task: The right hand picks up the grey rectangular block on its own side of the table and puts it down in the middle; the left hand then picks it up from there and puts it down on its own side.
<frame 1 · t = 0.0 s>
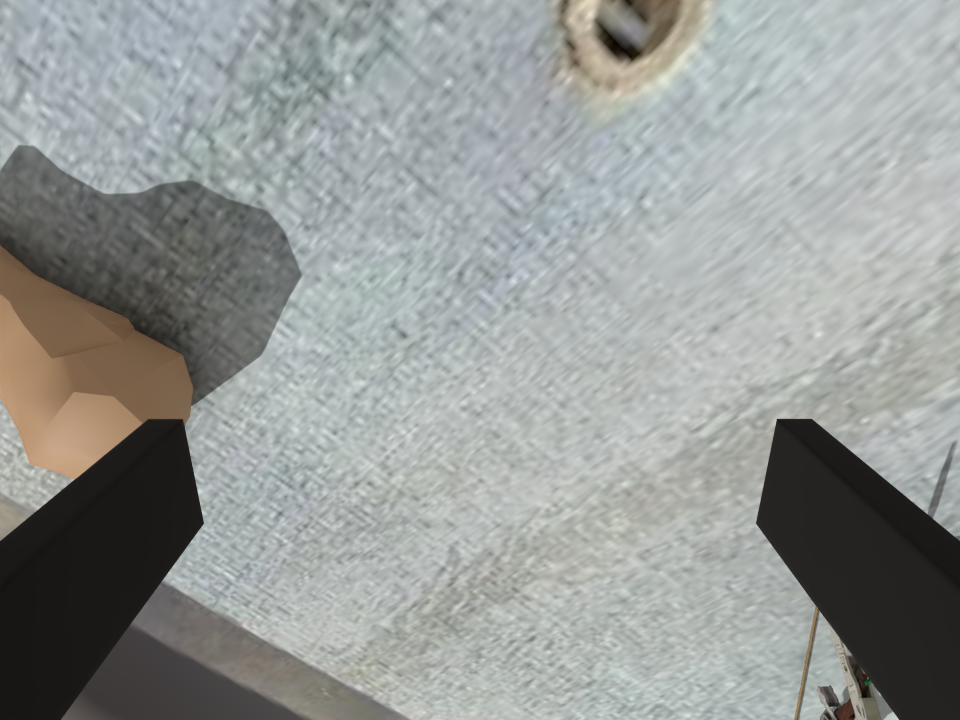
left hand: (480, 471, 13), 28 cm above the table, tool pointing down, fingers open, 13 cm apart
bow: (797, 701, 54), on the table
squash: (84, 334, 41), on the table
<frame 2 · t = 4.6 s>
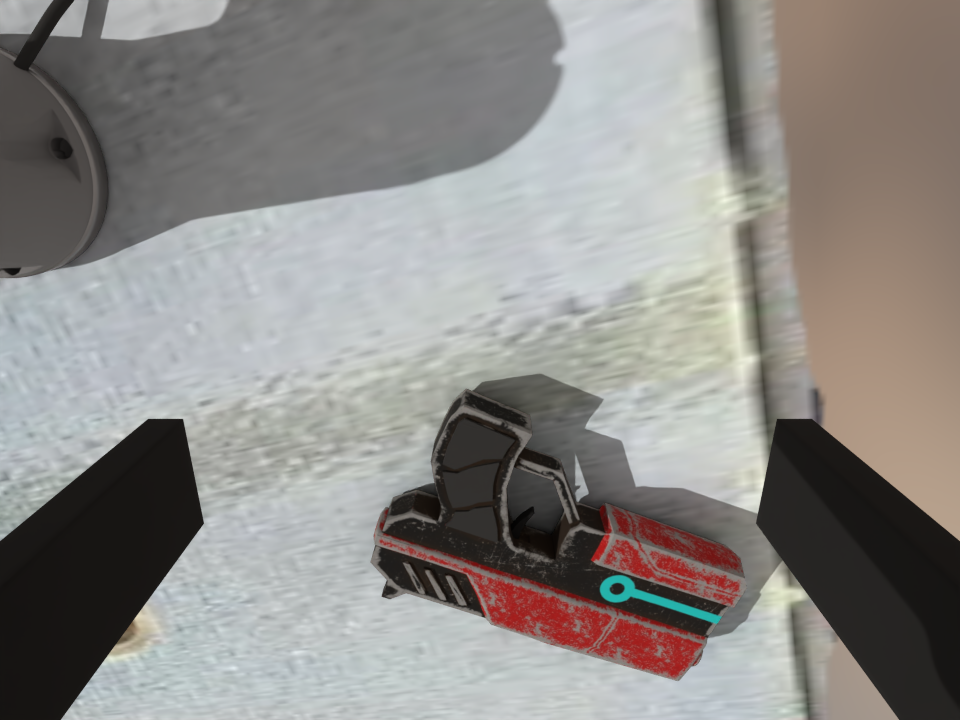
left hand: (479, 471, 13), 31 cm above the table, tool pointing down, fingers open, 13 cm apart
gun: (562, 529, 51), on the table
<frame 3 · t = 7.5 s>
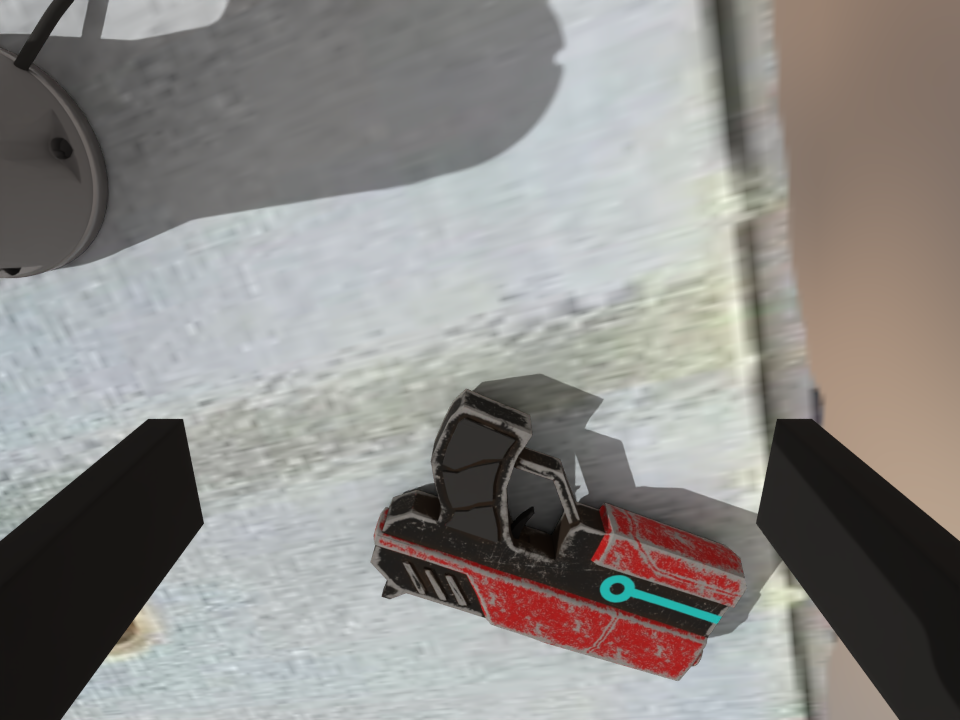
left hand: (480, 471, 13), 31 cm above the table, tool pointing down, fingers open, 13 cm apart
gun: (562, 529, 51), on the table
when the right hand's fingers open (4 cm above the table, at t = 10.5 s): grey rectangular block stays where it is, on the table.
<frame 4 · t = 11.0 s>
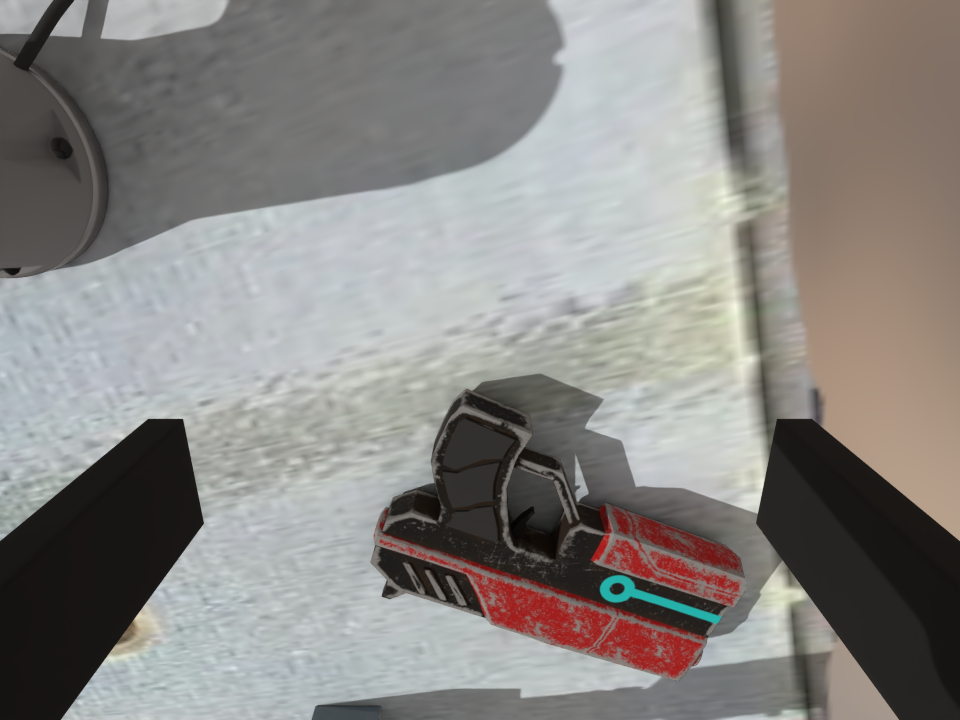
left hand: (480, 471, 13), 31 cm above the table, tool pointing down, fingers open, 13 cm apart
gun: (562, 529, 51), on the table
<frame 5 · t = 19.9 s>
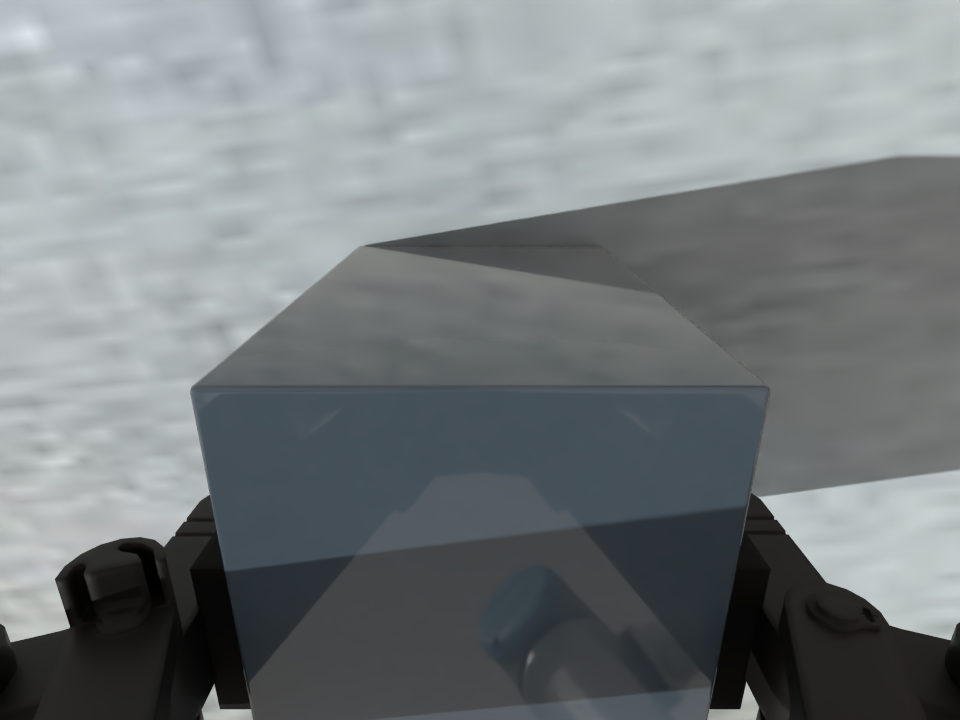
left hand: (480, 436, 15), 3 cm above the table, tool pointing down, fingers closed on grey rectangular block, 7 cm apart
grey rectangular block: (480, 396, 17), on the table, touching left hand
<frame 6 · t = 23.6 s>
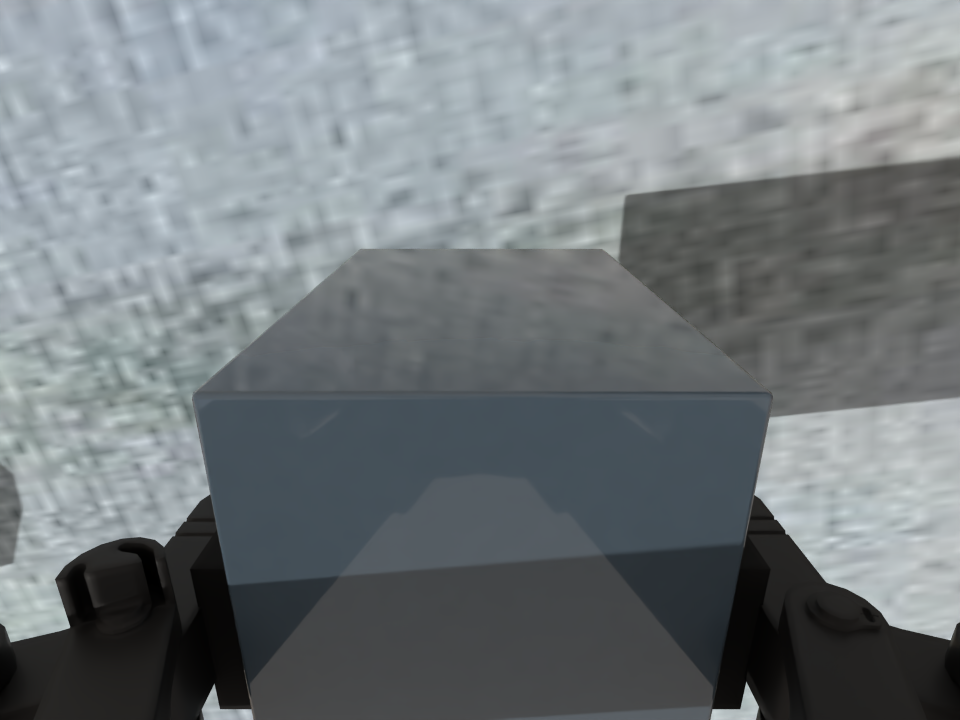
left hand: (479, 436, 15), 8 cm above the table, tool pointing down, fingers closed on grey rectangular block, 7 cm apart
grey rectangular block: (481, 399, 17), point 6 cm above the table, touching left hand
when the left hand's fingers open (4 cm above the table, at t = 27.7 s): grey rectangular block drops 1 cm, on the table.
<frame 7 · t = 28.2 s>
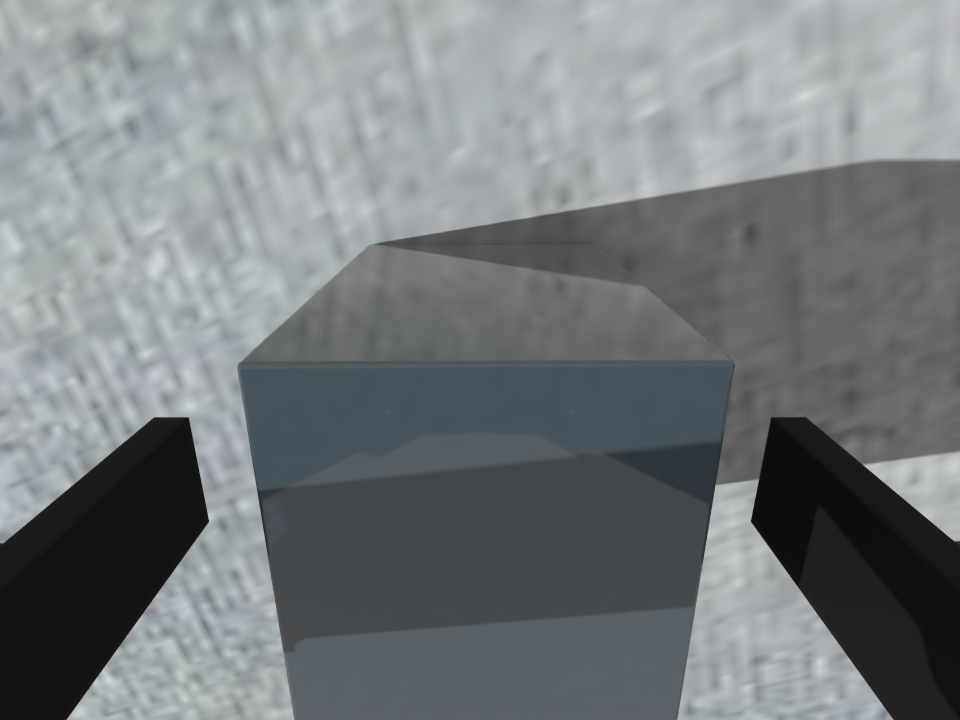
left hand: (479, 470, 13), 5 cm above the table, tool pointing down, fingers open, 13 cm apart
grey rectangular block: (483, 386, 18), on the table
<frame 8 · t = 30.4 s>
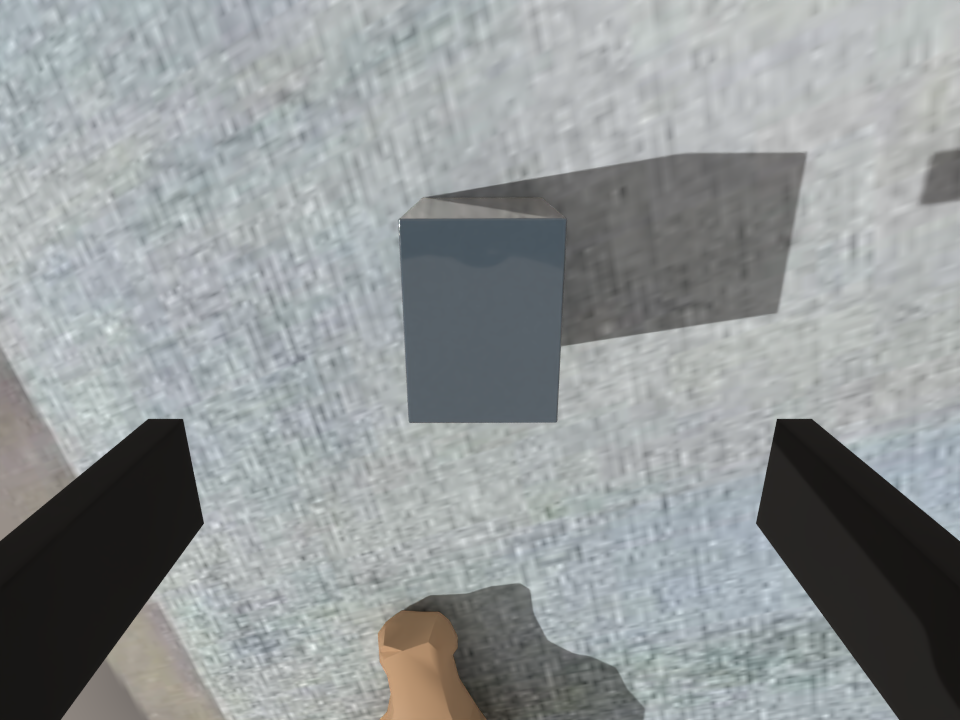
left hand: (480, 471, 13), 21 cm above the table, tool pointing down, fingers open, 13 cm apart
squash: (433, 697, 45), on the table
grey rectangular block: (482, 277, 33), on the table
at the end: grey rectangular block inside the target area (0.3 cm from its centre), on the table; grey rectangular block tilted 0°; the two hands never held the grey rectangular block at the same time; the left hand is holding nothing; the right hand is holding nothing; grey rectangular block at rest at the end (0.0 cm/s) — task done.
